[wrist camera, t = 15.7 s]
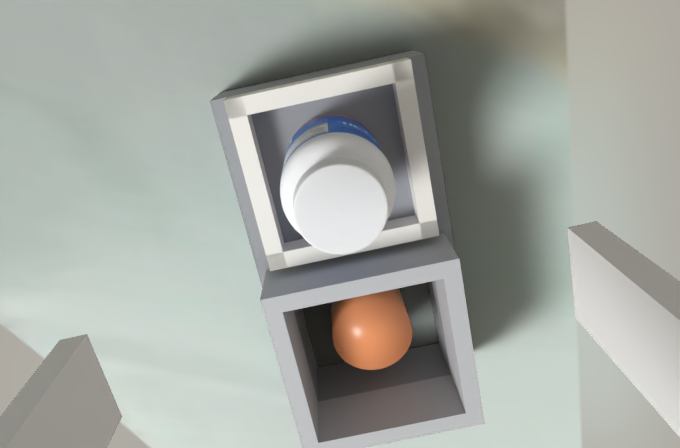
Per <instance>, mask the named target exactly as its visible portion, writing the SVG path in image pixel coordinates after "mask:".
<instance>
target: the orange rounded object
mask: <svg viewBox="0 0 680 448" xmlns="http://www.w3.org/2000/svg"><path fill="white" fill-rule="evenodd" d="M331 318H332V335H333V344H334V347H335V349H336V351H337V353H338V354H339V356H340V357H341V358H342V359H343V360H344V361H345V362H347V363H348V364H350V365H352V366H354V367H357V368H360V369H365V370H376V369H382V368H385V367H388V366H390V365H392V364H394V363H395V362H397V361H398V360H399V359H401V358H402V357H403V355H404V354H405V353H406V352H407V350H408V348H409V346H410V344H411V340H412V326H411V323H410V320H409V316H408V313H407V310H406V307H405V304H404V301H403V298H402V295H401V293H400V291H399V289H398V288H397V289H393V290H388V291H383V292H378V293H373V294H369V295H364V296H359V297H354V298H349V299H345V300H340V301H335V302H331Z"/></svg>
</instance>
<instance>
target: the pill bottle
mask: <svg viewBox="0 0 680 448" xmlns="http://www.w3.org/2000/svg"><path fill="white" fill-rule="evenodd" d="M395 197H396V185H395V178H394V174H393V171H392V168H391V166H390V164H389V162H388V160H387V158H386V156H385V155H384V153H383V152H382V150H381V148H380V147H379V145H378V143H377V141H376V140H375V138H374V136H373V135H372V133H371V132H370V131H369V130H368V129H367V128H366V127H365V126H364V125H363V124H361V123H360V122H358V121H356V120H354V119H352V118H350V117H347V116H342V115H325V116H321V117H318V118H315V119H313V120H311V121H309V122H307V123H306V124H304V125H303V126H302V127H301V128H300V129H299V130H298V131H297V132H296V133H295V134H294V136H293V137H292V139H291V141H290V142H289V145H288V148H287V151H286V155H285V160H284V165H283V170H282V175H281V181H280V198H281V203H282V208H283V211H284V213H285V215H286V217H287V219H288V221H289V222H290V224H291V225H292V226H293V227H294V229H295V230H296V231H297V232H298V233H300V234H301V235H302V236H303V238H304V239H305V240H306V241H307V242H308V243H309V244H311V245H312V246H314V247H315V248H317V249H319V250H321V251H324V252H327V253H331V254H349V253H354V252H357V251H359V250H362V249H364V248H365V247H367V246H368V245H370V244H371V243H372V242H373V241H374V240H375V239H376V238H377V237H378V236H379V235H380V233H381V232H382V230H383V228H384V226H385V224H386V221H387V220H388V218H389V216H390V214H391V212H392V210H393V207H394V203H395Z"/></svg>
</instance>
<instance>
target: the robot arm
mask: <svg viewBox="0 0 680 448" xmlns="http://www.w3.org/2000/svg"><path fill="white" fill-rule="evenodd" d="M567 229H568V240H569V250H570V261H571V272H572V283H573V293H574V304H575V315H576V319H577V320H578V321H579V322H580V323H581V324H582V326H583V327H584V328H585V329H586V330H587V331H588V333H589V334H590V335H591V336H592V337H593V338H594V339H595V340H596V342H597V343H598V344H599V345H600V346H601V347H602V349H603V350H604V351H605V352H606V353H607V354H608V355H609V357H610V358H611V359H612V360H613V361H614V362H615V363H616V364H617V366H618V367H619V368H620V369H621V370H622V371H623V373H624V374H625V375H626V376H627V377H628V378H629V380H630V381H631V382H632V383H633V384H634V385H635V386H636V388H637V389H638V390H639V391H640V392H641V393H642V394H643V395H644V397H645V398H646V399H647V400H648V401H649V402H650V404H651V405H652V406H653V407H654V408H655V409H656V410H657V411H658V413H659V414H660V415H661V416H662V417H663V418H664V419H665V421H666V422H667V423H668V424H669V425H670V426H671V427H672V429H673V430H674V431H675V432H676V433H677V434H678V436H679V437H680V281H678V280H677V279H676V278H674V277H673V276H672V275H670V274H669V273H667V272H666V271H665V270H663V269H662V268H660V267H659V266H658V265H656V264H655V263H653V262H652V261H651V260H649V259H648V258H647V257H645V256H644V255H642V254H641V253H639V252H638V251H637V250H635V249H634V248H633V247H631V246H630V245H629V244H627V243H626V242H624V241H623V240H621V239H620V238H619V237H617V236H616V235H614V234H613V233H612V232H610V231H609V230H608V229H606V228H605V227H604V226H602V225H601V224H599V223H598V222H596V221H595V222H590V223H586V224H581V225H577V226H572V227H568V228H567ZM121 418H122V415H121V413H120V410H119V408H118V406H117V403H116V401H115V399H114V396H113V394H112V392H111V389H110V387H109V385H108V382H107V380H106V378H105V375H104V373H103V371H102V368H101V366H100V364H99V361H98V359H97V357H96V354H95V352H94V350H93V347H92V345H91V343H90V340H89V338H88V336H87V334H86V335H81V336H77V337H72V338H68V339H63V340H60V341H59V342H58V343H57V344H56V346H55V347H54V348H53V349H52V351H51V352H50V353H49V355H48V356H47V357H46V358H45V360H44V361H43V362H42V364H41V365H40V367H39V368H38V369H37V370H36V371H35V373H34V374H33V375H32V376H31V378H30V379H29V380H28V382H27V383H26V384H25V385H24V387H23V388H22V389H21V391H20V392H19V393H18V395H17V396H16V397H15V398H14V400H13V401H12V402H11V404H10V405H9V406H8V407H7V408H6V410H5V411H4V412H3V414H2V415H1V416H0V448H107V447H108V445H109V443H110V441H111V439H112V436H113V434H114V432H115V430H116V428H117V426H118V424H119V422H120V420H121Z"/></svg>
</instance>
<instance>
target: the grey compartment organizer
mask: <svg viewBox="0 0 680 448" xmlns="http://www.w3.org/2000/svg"><path fill="white" fill-rule="evenodd" d="M210 104H211V107H212V111H213V114H214V118H215V121H216V125H217V128H218V132H219V136H220V139H221V143H222V146H223V150H224V153H225V157H226V160H227V164H228V167H229V171H230V175H231V178H232V182H233V185H234V189H235V192H236V196H237V199H238V203H239V206H240V210H241V214H242V217H243V221H244V224H245V228H246V231H247V235H248V238H249V242H250V245H251V249H252V253H253V256H254V260H255V263H256V267H257V270H258V274H259V277H260V281H261V284H262V288H263V289H262V294H261V299H260V301H261V304H262V308H263V311H264V315H265V318H266V322H267V325H268V329H269V332H270V336H271V339H272V343H273V346H274V350H275V353H276V357H277V360H278V364H279V367H280V371H281V374H282V378H283V381H284V385H285V388H286V392H287V395H288V399H289V402H290V406H291V409H292V413H293V416H294V420H295V423H296V427H297V430H298V434H299V437H300V441H301V444H302V448H365V447H370V446H375V445H380V444H385V443H390V442H395V441H400V440H405V439H410V438H415V437H420V436H425V435H430V434H435V433H440V432H445V431H450V430H455V429H460V428H465V427H470V426H475V425H480V424H485V423H484V417H483V410H482V403H481V397H480V390H479V384H478V377H477V371H476V364H475V357H474V351H473V344H472V338H471V331H470V325H469V318H468V311H467V305H466V298H465V292H464V285H463V278H462V272H461V265H460V259H459V257H458V255H457V254H456V252H455V248H454V241H453V235H452V228H451V222H450V215H449V209H448V202H447V196H446V189H445V183H444V176H443V170H442V163H441V157H440V150H439V144H438V137H437V131H436V124H435V118H434V112H433V105H432V99H431V92H430V86H429V79H428V73H427V66H426V60H425V54H424V53H421V52H417V51H414V50H411V51H407V52H402V53H397V54H393V55H388V56H384V57H379V58H375V59H370V60H366V61H361V62H357V63H352V64H348V65H343V66H338V67H334V68H329V69H325V70H320V71H316V72H311V73H307V74H302V75H298V76H293V77H289V78H284V79H279V80H275V81H270V82H266V83H261V84H257V85H252V86H248V87H243V88H239V89H234V90H229V91H225V92H221V93H219V94H218V95H217V96H215V97H214V98H213V99H212V100H210ZM325 115H342V116H347V117H350V118H352V119H354V120H356V121H358V122H360V123H361V124H363V125H364V126H365V127H366V128H367V129H368V130H369V131H370V132H371V133H372V135H373V136H374V138H375V140H376V141H377V143H378V145H379V147H380V148H381V150H382V152H383V153H384V155H385V156H386V158H387V160H388V162H389V164H390V166H391V168H392V171H393V174H394V178H395V185H396V197H395V203H394V207H393V210H392V212H391V214H390V216H389V218H388V220H387V221H386V224H385V226H384V228H383V230H382V232H381V233H380V235H379V236H378V237H377V238H376V239H375V240H374V241H373V242H372V243H371V244H370V245H368V246H367V247H365V248H364V249H362V250H359V251H357V252H354V253H349V254H331V253H327V252H324V251H321V250H319V249H317V248H315V247H314V246H312V245H311V244H309V243H308V242H307V241H306V240H305V239H304V238H303V236H302V235H301V234H300V233H298V232H297V231H296V230H295V229H294V227H293V226H292V225H291V224H290V222H289V221H288V219H287V217H286V215H285V213H284V211H283V208H282V203H281V198H280V181H281V175H282V170H283V165H284V160H285V155H286V151H287V148H288V145H289V142H290V141H291V139H292V137H293V136H294V134H295V133H296V132H297V131H298V130H299V129H300V128H301V127H302V126H303V125H304V124H306V123H307V122H309V121H311V120H313V119H315V118H318V117H321V116H325ZM426 282H428V284H429V290H430V296H431V301H432V307H433V313H434V319H435V324H436V330H437V336H438V342H439V343H436V344H431V345H426V346H422V347H417V348H412V349H408V350H407V352H406V353H405V354H404V355H403V357H402V358H401V359H399V360H398V361H397V362H395V363H394V364H392V365H390V366H388V367H385V368H382V369H376V370H365V369H360V368H357V367H354V366H352V365H350V364H348V363H347V362H344V363H339V364H334V365H329V366H324V367H319V368H317V364H316V360H315V356H314V352H313V349H312V345H311V341H310V337H309V333H308V329H307V325H306V322H305V318H304V314H303V310H302V308H306V307H311V306H316V305H321V304H325V303H330V302H335V301H340V300H345V299H349V298H354V297H359V296H364V295H369V294H373V293H378V292H383V291H388V290H393V289H397V288H402V287H407V286H412V285H417V284H421V283H426Z"/></svg>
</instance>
